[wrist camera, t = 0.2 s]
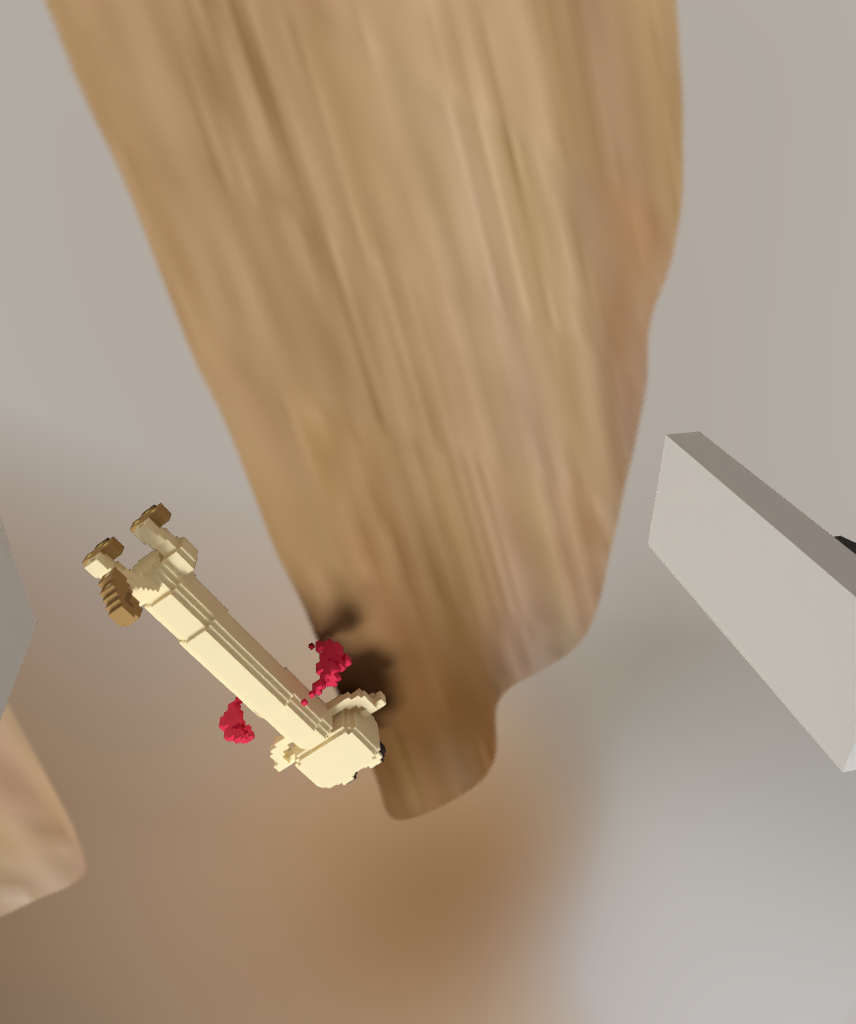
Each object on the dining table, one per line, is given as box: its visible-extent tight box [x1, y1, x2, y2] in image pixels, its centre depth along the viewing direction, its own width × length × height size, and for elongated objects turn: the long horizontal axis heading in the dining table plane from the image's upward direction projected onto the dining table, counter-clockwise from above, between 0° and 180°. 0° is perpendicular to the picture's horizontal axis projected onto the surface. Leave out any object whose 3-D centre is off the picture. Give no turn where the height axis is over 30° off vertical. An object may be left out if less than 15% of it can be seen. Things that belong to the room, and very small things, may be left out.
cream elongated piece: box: [83, 503, 386, 788], centre depth 47 cm, size 10×9×25 cm
